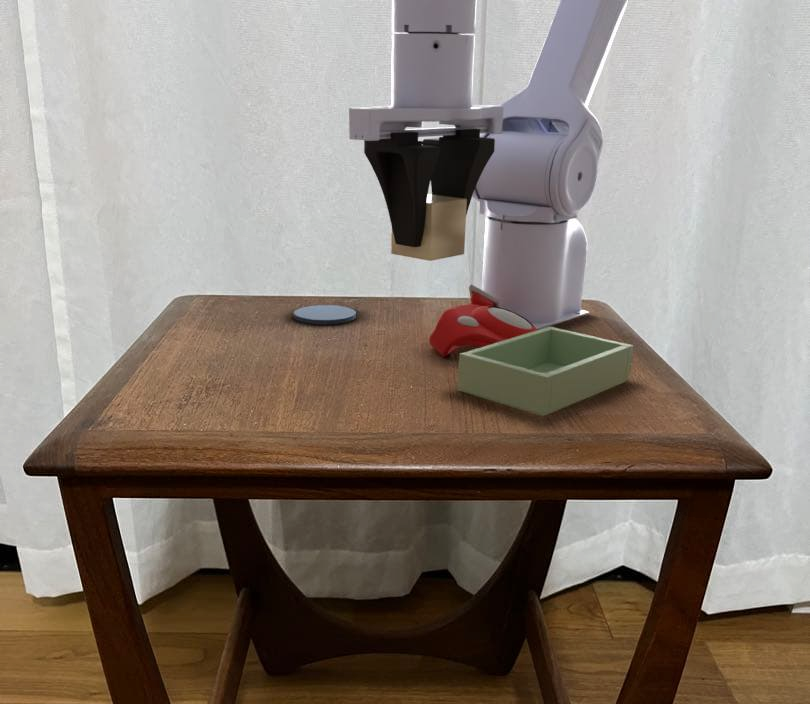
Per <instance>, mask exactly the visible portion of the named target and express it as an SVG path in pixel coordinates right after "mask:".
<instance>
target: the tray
mask: <svg viewBox="0 0 810 704" xmlns="http://www.w3.org/2000/svg"><path fill="white" fill-rule="evenodd" d="M633 353H634V345H633V344H629V343H624V342H619V341H615V340H611V339H607V338H602V337H599V336H598V337H597V336H593V335H589V334H585V333H581V332H576V331H571V330H567V329H562V328H558V327H555V326H547V327H544V328H541V329H538V330H537V331H534V332H530V333H527V334H524V335H520V336H517V337H514V338H510V339H507V340H504V341H501V342H497V343H494V344H491V345H487V346H484V347H478V348H475V349H471V350H468V351H465V352H460V353H459V355H458V356H459V357H458V376H457V377H458V378H457V391H460V392H462V393H466V394H469V395H473V396H476V397H480V398H482V399H486V400H489V401H492V402H496V403H500V404H502V405H506V406H510V407H513V408H516V409H519V410H523V411H526V412H529V413H532V414H535V415H539V416H542V417H544V416H547V415H549V414H552V413H554V412H556V411H559V410H561V409H563V408H566V407H569V406H571V405H573V404H575V403H578V402H581V401H583V400H585V399H588V398H590V397H592V396H594V395H597V394H599V393H602V392H604V391H607V390H610V389H611V388H614V387H617V386H619V385H622V384H623V383H626V382H628V381H630V380H629V379H630V375H631V368H632V359H633Z"/></svg>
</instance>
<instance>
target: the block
mask: <svg viewBox="0 0 810 704" xmlns="http://www.w3.org/2000/svg"><path fill="white" fill-rule="evenodd" d="M466 205H467V199H463V198H455V197H448V196H440V195H432V193H428V195H427V203H426V216H425V227H424V233H423V238H422V242H421V246H420V247H409V246H404V245H398V244H396V243H395V239H394V234H393V230H392V225H391V224H390V226H391V227H390V230H391V231H390V232H391V233H390V234H391V235H390V236H391V237H390V240H391V241H390V254H391V255H396V256H401V257H406V258H411V259H418V260H424V261H428V262H431V261H432V262H433V261H437V260H443V259H447V258H453V257H458V256H463V255H465V249H466V247H465V246H466V226H467V225H466V223H467V215H466Z"/></svg>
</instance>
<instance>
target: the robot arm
mask: <svg viewBox="0 0 810 704" xmlns="http://www.w3.org/2000/svg"><path fill="white" fill-rule="evenodd" d="M477 1H478V0H391V33H392V34H391V84H390V85H391V87H390V88H391V92H390V93H391V94H390V96H391V99H390V100H391V102H390V103H391V105H379V106H378V105H377V106H363V107H349V108H348V132H349V133H348V134H349V135H348V137H349V140H353V141H357V140H358V141H363V153H364V156H365V157H366V158H367V161H369V164H370V166H371V168H372V170H373V172H374V174H375V176H376V179H377V181H378V183H379V186H380V189H381V191H382V194H383V197H384V201H385V204H386V208H387V212H388V217H389V220H390V226H391V225H392V230H393V234H394V239H395V243H396V244H398V245H404V246H409V247H420V246H421V242H422V238H423V233H424V227H425V216H426V203H427V195H428V194H429V190H430V188H431V194H432V195H440V196H448V197H455V198H463V199H467V205H466V216H467V215H468V211H469V208H470V204H471V202H472V198H473V200H474V201H475V202H476V203H477V204H478V214H479V215H484V216H485V223H484V225H485V226H484V242H483V243H484V244H483V261H482V278H481V290H483V291H484V292H486V293H488V294H490V295H491V296H493V297H495V298H497V299H498V300H499V305H500V308H504V309H507V310H510V311H512V312H514V313H516V314H518V315H520V316H522V317H524V318H525V319H527V320H528V321H529V322H531V323H532V324H533V325H534V326H535V327H536V329H537V330H540V329H543V328H546V327H552V326H554V325H557V324H560V323H563V322H567V321H571V320H574V319H578V318H580V317H583V316H586V315H589V314H590V312H589V311H588V310H585V309H582V301H583V293H584V284H585V276H586V268H587V267H586V266H587V259H588V238H587V235H586V232H585V229H584V227H583V225H582V224H581V223H580V222H579V220H577V219H578V218H579V214H580V213H581V212H582V211H583V209H584V208H585V207H586V206H587V204H588V203H589V201H590V199H591V198H592V196H593V193H594V190H595V187H596V184H597V180H598V170H599V163H600V158H601V155H602V151H603V148H604V145H605V137H604V133H603V129H602V127H601V125H600V123H599V121H598V119H597V117H596V116H595V115H594V113H593V112H592V111H591V109H589V107H588V106H589V103H590V101H591V98H592V96H593V94H594V90H595V88H596V85H597V82H598V80H599V78H600V75H601V72H602V70H603V67H604V65H605V62H606V59H607V57H608V54H609V52H610V49H611V46H612V44H613V41H614V39H615V36H616V33H617V31H618V28H619V26H620V23H621V20H622V18H623V16H624V14H625V11H626V8H627V6H628V2H629V0H559V3H558V5H557V8H556V9H555V10H556V11H555V14H554V16H553V18H552V20H551V24H550V26H549V28H548V32H547V34H546V37H545V39H544V42H543V44H542V48H541V49H540V53H539V55H538V57H537V60H536V63H535V64H534V68H533V70H532V72H531V76H530V79H529V81H528V84H527V85H526V87H524V88H523V89H522V90H520V91H519V92H517V93H516V94H514V95H513V96H511V97H510V98H508V99H507V100H505V101H503V102H502V103H501V104H499V105H494V104H493V105H491V104H473V90H474V89H473V86H474V68H475V67H474V66H475V65H474V63H475V45H476V44H475V43H476V36H475V34H476V21H477V20H476V19H477ZM426 122H427V123H431V122H432V123H434V122H435V123H437V122H438V124H439V125H448V126H449V127H447V126H446V127H425V128H423V123H426ZM426 137H428V138H426ZM429 137H438V138H429ZM419 138H424V139H423V140H419Z"/></svg>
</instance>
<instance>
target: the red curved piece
mask: <svg viewBox="0 0 810 704" xmlns="http://www.w3.org/2000/svg"><path fill="white" fill-rule="evenodd" d="M468 290H469V297H470V303H469V304H461V305H456V306H453V307H449V308H448V309H446V310H444V312H443V313H442V314H441V316H440V318H439V319H438V320H437V324H436V326H435V328H434V330H433V331H432V333H431V334H430V336H429V340H428V343H429V345H430V346H431V347H432V348H433V349H434V350H435V351H436V352H437V353H439V354H440V355H441V356H442V357H444V358H445V357H448V356H450V355H451V354H452V353H453V352H455V351H456V350H458V349H460V348H461V347H463V346H465V347H466V346H473V347H478V348H481V347H484V346H487V345H491V344H494V343H497V342H501V341H504V340H507V339H510V338H514V337H517V336H520V335H524V334H527V333H530V332H534V331H537V329H536V327H535V326H534V325H533V324H532V323H531V322H529V321H528V320H527V319H525V318H524V317H522V316H520V315H518V314H516V313H514V312H512V311H510V310H507V309H504V308H500V305H499V300H498V299H497V298H495V297H493V296H491V295H490V294H488V293H486V292H484V291H483V290H482V288H479V287H477V286H475V285H474V284H469V286H468Z"/></svg>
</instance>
